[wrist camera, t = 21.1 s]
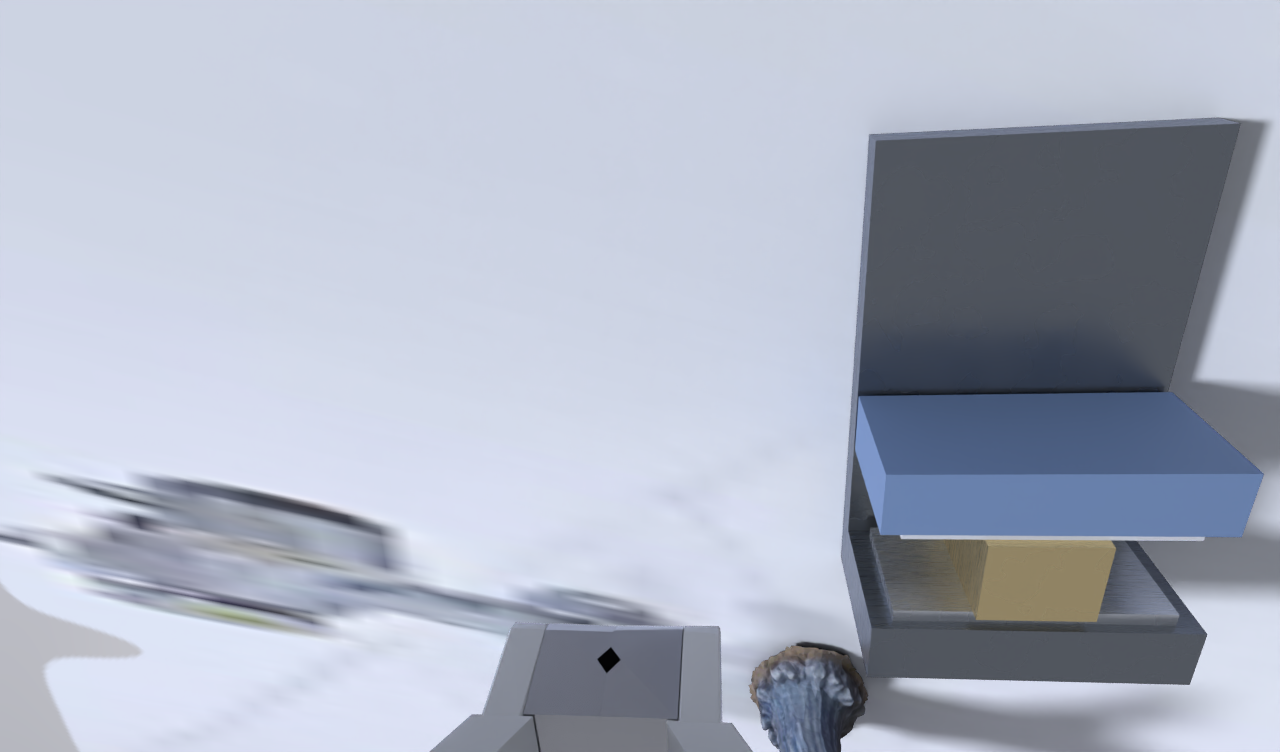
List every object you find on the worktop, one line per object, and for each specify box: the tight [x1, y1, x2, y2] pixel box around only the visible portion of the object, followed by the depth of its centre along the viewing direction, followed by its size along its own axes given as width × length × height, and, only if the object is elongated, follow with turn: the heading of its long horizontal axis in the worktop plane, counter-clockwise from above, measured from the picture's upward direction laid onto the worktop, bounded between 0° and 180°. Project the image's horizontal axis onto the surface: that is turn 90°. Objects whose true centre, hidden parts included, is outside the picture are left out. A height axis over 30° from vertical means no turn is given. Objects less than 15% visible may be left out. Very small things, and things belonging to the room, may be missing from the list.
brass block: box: [943, 539, 1116, 622], centre depth 36 cm, size 4×5×7 cm
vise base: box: [841, 118, 1241, 685], centre depth 34 cm, size 23×14×8 cm, turn 4°
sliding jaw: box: [855, 392, 1264, 541], centre depth 34 cm, size 4×14×7 cm, turn 93°
